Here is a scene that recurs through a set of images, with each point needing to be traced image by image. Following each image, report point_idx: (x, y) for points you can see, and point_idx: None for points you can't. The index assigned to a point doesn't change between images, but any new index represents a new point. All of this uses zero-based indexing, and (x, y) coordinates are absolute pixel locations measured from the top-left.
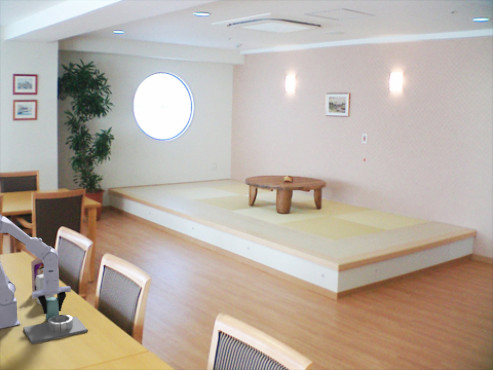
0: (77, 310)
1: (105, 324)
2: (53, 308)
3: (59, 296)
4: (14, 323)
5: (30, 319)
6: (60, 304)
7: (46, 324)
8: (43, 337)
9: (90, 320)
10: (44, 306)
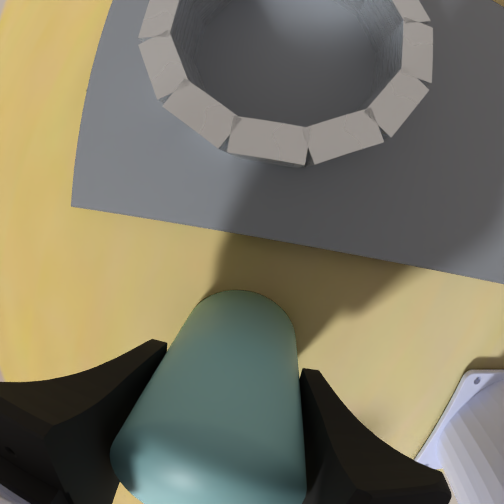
0: (45, 339)
1: (20, 11)
2: (234, 357)
3: (77, 462)
4: (485, 388)
5: (372, 416)
6: (122, 372)
7: (371, 207)
8: (466, 3)
9: (32, 109)
10: (346, 421)
